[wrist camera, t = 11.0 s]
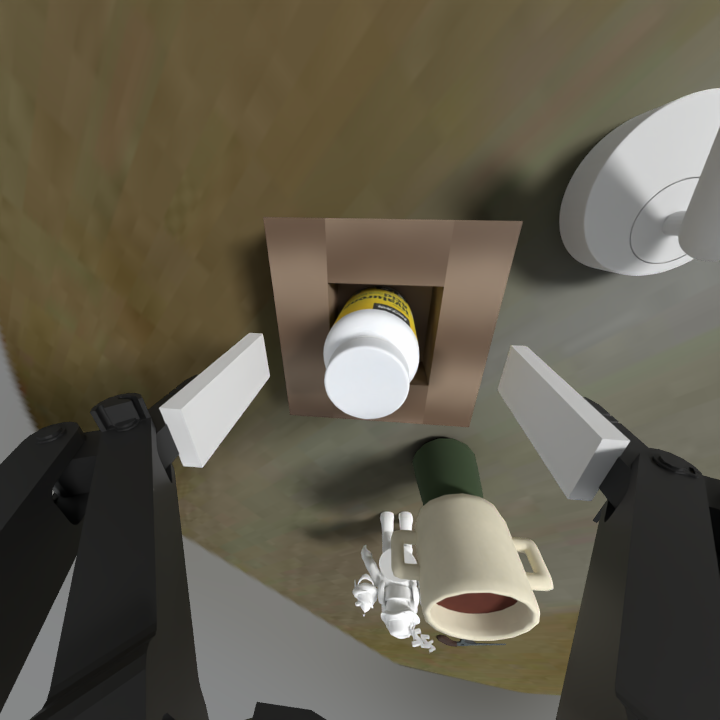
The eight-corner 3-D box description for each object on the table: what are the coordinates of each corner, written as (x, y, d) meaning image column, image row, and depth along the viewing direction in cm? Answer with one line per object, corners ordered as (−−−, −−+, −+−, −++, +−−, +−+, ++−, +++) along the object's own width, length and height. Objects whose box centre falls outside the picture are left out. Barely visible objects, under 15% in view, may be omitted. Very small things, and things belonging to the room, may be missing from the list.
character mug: (389, 477, 30) (391, 633, 19) (390, 428, 27) (392, 582, 16) (489, 481, 29) (556, 650, 18) (503, 432, 26) (594, 598, 15)
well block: (289, 217, 19) (263, 216, 15) (492, 220, 18) (523, 221, 14) (305, 384, 26) (290, 414, 22) (455, 393, 24) (468, 427, 21)
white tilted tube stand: (1285, -278, 5) (1045, 235, 9) (723, 33, 13) (720, 227, 17) (711, 54, 8) (712, 344, 11) (540, 142, 16) (572, 291, 20)
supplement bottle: (417, 285, 20) (437, 338, 11) (407, 352, 22) (417, 438, 13) (343, 280, 20) (306, 327, 11) (342, 346, 22) (311, 426, 14)
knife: (439, 642, 50) (439, 647, 50) (436, 632, 48) (437, 637, 48) (518, 640, 48) (520, 646, 47) (519, 630, 46) (520, 636, 45)
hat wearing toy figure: (433, 509, 32) (456, 650, 22) (431, 528, 34) (451, 668, 23) (359, 505, 33) (346, 639, 23) (360, 524, 35) (349, 657, 24)
